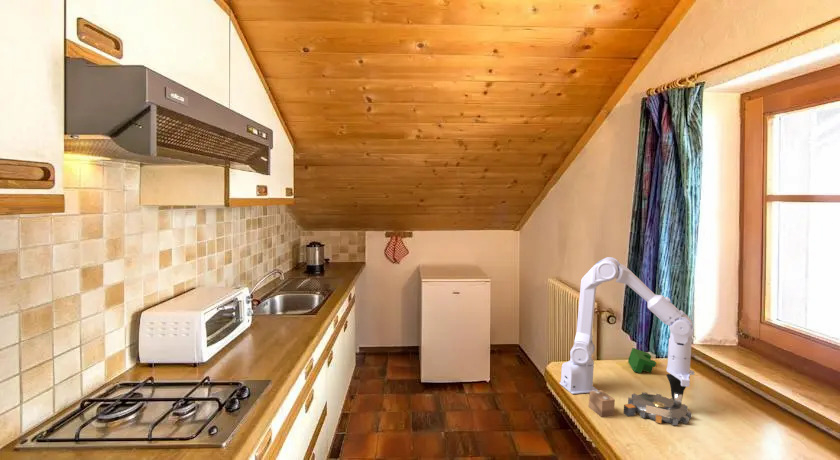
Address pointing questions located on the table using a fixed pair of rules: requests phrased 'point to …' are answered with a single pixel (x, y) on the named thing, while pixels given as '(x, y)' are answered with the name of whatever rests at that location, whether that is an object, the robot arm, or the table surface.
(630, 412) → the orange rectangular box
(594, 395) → the link block
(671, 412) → the sprocket disc
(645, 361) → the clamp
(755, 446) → the table surface
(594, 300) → the robot arm
